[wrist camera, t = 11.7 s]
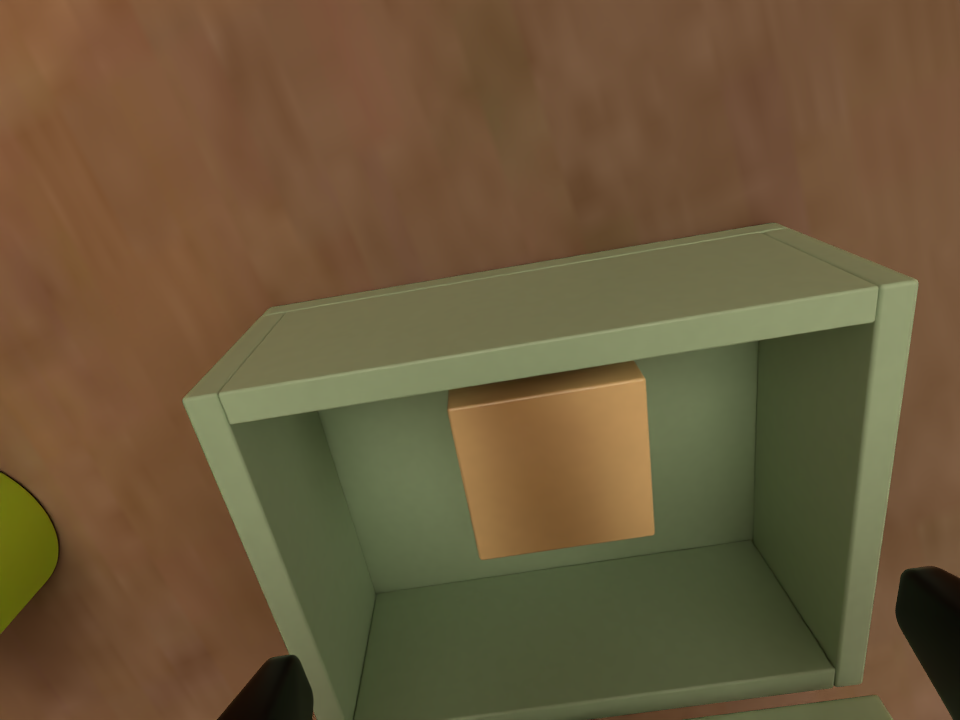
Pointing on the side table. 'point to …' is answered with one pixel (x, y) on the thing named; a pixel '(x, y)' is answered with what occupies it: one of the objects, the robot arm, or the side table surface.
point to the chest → (590, 568)
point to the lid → (816, 711)
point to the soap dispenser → (22, 549)
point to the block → (555, 459)
